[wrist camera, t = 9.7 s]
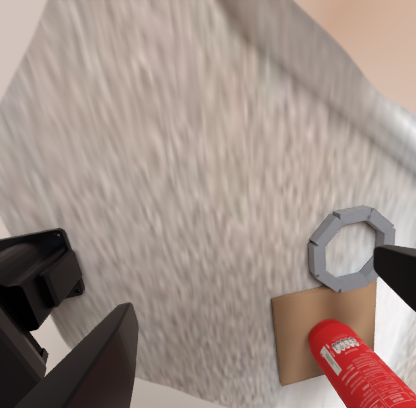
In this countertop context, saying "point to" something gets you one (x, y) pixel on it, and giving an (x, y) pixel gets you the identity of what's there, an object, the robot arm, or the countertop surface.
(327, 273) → the ring
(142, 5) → the countertop surface
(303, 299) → the coaster
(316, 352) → the beverage can
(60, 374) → the robot arm
